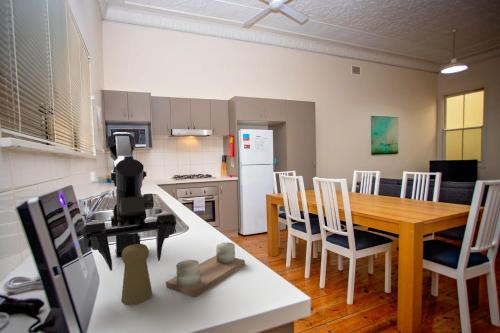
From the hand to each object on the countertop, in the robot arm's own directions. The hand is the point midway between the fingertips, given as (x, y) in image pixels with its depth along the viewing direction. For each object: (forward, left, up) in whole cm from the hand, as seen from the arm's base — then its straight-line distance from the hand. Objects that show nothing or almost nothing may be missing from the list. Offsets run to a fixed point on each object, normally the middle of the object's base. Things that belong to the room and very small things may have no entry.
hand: (136, 264), depth 55 cm
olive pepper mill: (0, +1, -7) cm, 7 cm away
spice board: (+17, +2, -7) cm, 18 cm away
